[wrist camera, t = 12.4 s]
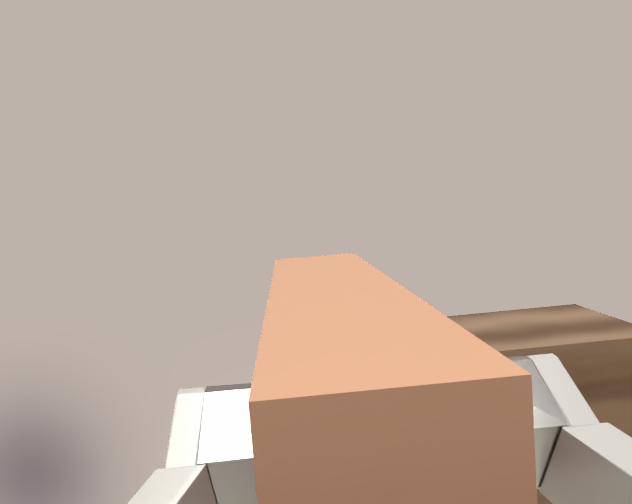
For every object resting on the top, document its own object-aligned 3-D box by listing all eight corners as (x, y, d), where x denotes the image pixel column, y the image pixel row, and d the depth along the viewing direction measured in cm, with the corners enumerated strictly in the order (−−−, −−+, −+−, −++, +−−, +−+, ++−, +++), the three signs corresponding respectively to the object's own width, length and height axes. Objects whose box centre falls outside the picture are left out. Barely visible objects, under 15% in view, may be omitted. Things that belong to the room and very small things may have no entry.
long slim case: (540, 574, 8) (531, 374, 8) (266, 605, 8) (247, 401, 7) (357, 310, 28) (353, 252, 27) (280, 317, 27) (275, 259, 27)
